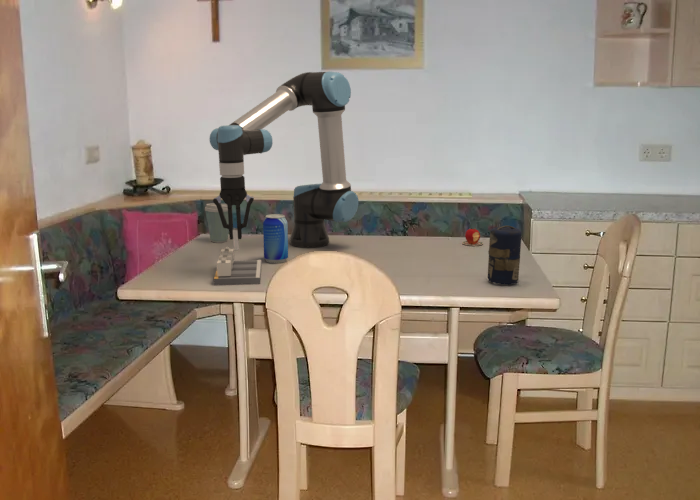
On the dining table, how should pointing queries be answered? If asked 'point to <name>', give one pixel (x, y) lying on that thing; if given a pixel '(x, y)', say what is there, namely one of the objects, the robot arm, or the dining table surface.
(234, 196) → the robot arm
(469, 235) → the apple
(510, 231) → the canister
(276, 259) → the beer can
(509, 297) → the dining table surface
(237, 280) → the panel
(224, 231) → the disposable coffee cup
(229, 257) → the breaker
